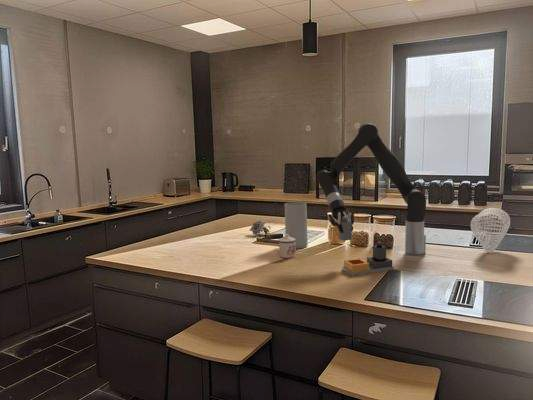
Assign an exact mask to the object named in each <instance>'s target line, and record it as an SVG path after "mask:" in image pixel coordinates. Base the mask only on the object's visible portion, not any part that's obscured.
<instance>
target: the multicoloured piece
mask: <svg viewBox="0 0 533 400" xmlns="http://www.w3.org/2000/svg"><path fill="white" fill-rule="evenodd" d="M341 269H342V271H343V272H345V273H346V274H347V275H349V276H358V275H364V274H372V273H379V272H380V273H381V272H388V271H394V270H395V266H394V265H393V260H392V259H390V258H389V257H387V246H384V245H383V241H376V245H372V256H369V257H366V260H364V259H362V258H354V259H347V260H345V259H344V260H343V266H342V267H341Z"/></svg>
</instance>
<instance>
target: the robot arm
mask: <svg viewBox="0 0 533 400" xmlns="http://www.w3.org/2000/svg"><path fill="white" fill-rule="evenodd" d="M357 132H358V133H357V135H356V136H355V137H354V139H353V140H352V141H351V142H350V143H349V145H347V146H346V147H345V148H344V149H343V150H342V151H341V152H340V153H339V154H338V155H337V156H335V158H334V159H333V160H332V161H331V163H330V165H329V166H330V168H331V169H330V171H328V170H326V169H321V170H319V171H318V172H317V174H316V180H317V184H319V186H320V188H321V190H322V191H323V193H324V196H325V198H326V201H327V205H328V208H329V210H330V213H331V214H328V215H327V220H328V221H329V222H330V223H331V226H333V227H337V229H338V233H339V232H341V233H343V228H342V226H341V225H340V224H341V223H340V220H342V217H344V216H347V217H348V220H349V221H351V231H352V232H353V231H354V226H353V225H354V223H355V213H354V211H351V212H349V211H348V210H347V207H346V205H345V203H344V201H343V197H342V196H341V193H340V191H339V189H338V187H337V186H336V185H335V183H336V182H337V180H338V178H339V177H340V175H341V172H342V171H344V170H345V168H347V166H348V165H349V164H350V163H351V162H352V160H353V159H355V157H356V156H357V155H358V154H359V153H360V152H361V151H362V150H363V149H364V148H365V147H366V146H367V147H368V149H369V150H370V151H371V153H372V154H373V156H374V159H375V160H376V162H377V164H378V165H379V166H380V168H381V170H382V171H383V173H384V174H385V175H386V176H387V178H388V179H389V180H390V181H391V183H392V184H393V185H394V186H395V187H396V188H397V190H398V191H399V193H400V195H401V197H402V198H403V201H404V203H405V204H406V205H407V208H406V209H407V211H406V214H405V230H404V231H405V234H404V236H405V239H404V240H405V243H404V244H405V248H404V249H405V250H404V252H405V253H406V254H408V255H411V256H413V255H414V256H419V255H423V254H425V253H426V251H427V249H426V246H427V245H426V244H427V243H426V240H427V236H426V234H425V217H426V213H427V212H426V211H427V197H426V194H424V192H422V191H421V190H419V189H418V188H417V187H415V185H414V184H413V183H412V181H411V180H410V179H409V177H408V174H407V172H406V170H405V168H404V166H403V164H402V162H401V161H400V160H399V158H398V157H397V156H396V155H395V153H394V152H393V151H392V150H391V149H390V148H389V147H388V146H387V145H386V144H385V143H384V142H383V140H382V138H381V137H380V135H379V134H378V133H379V130H378V128H377V126H376V125H375V124H374V123H363V124H362V125H361V126H360V127H359V128H358V130H357Z"/></svg>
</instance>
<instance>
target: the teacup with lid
mask: <svg viewBox="0 0 533 400" xmlns="http://www.w3.org/2000/svg"><path fill="white" fill-rule="evenodd" d="M278 247H279V249H278V252H279V253H278V255H279V257H280V258H282V259H283V258H284V259H291V258H295V257H296V255H297V254H296V249H295V247H296V240H295V238H292V237H290V236H289V235H288V234H286V233H285V234H284V236H283V237H281V238H278Z"/></svg>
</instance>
